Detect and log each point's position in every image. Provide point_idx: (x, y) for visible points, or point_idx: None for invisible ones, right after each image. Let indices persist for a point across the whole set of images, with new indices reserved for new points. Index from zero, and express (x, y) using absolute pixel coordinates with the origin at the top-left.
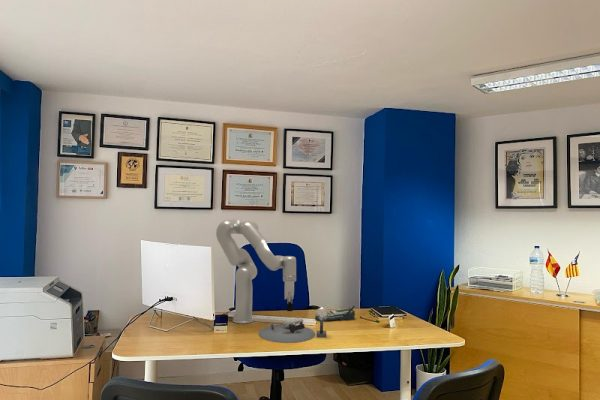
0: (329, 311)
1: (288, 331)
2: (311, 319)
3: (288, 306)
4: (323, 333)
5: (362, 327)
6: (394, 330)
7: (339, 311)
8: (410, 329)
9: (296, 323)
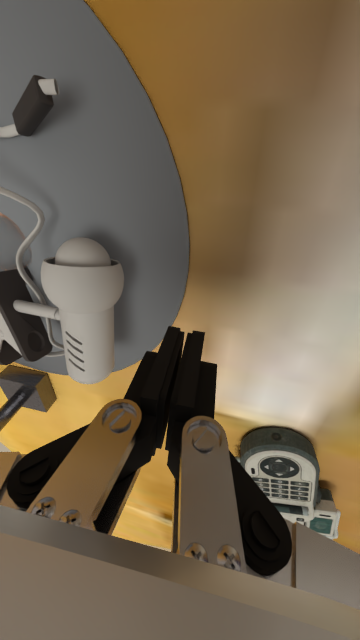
0: (306, 508)
1: (34, 257)
2: (296, 414)
3: (131, 382)
4: (9, 396)
5: (159, 488)
6: (139, 513)
7: None
8: (150, 528)
9: (12, 330)
